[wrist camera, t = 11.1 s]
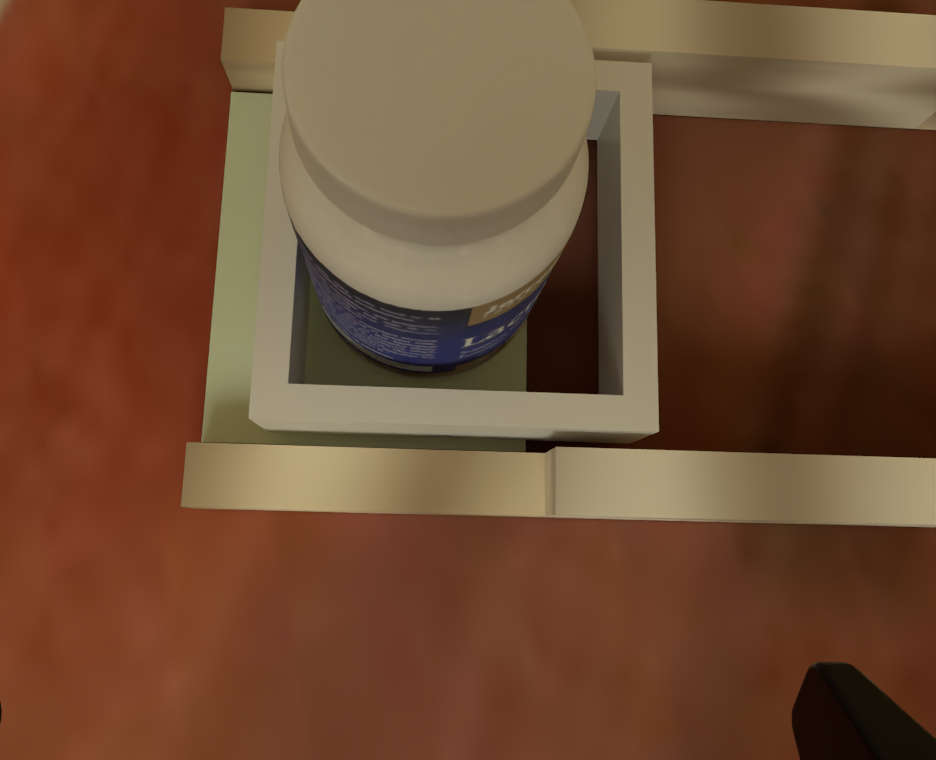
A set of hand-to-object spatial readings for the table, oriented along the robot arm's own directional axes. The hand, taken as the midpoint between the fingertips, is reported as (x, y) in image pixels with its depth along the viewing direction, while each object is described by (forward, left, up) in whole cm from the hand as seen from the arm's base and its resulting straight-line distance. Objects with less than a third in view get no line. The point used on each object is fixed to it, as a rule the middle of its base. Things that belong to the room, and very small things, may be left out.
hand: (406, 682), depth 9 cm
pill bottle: (+4, -7, -12) cm, 14 cm away
